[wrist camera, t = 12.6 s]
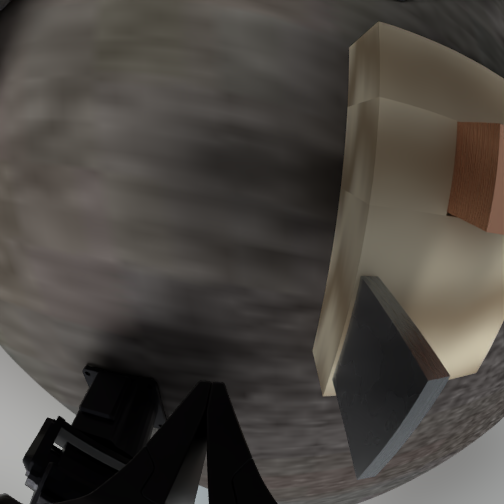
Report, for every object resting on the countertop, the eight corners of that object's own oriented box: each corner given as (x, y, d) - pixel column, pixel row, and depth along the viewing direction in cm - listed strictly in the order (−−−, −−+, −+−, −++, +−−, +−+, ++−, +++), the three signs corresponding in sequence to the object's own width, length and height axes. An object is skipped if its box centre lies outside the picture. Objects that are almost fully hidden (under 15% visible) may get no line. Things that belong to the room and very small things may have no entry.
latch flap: (375, 476, 8) (356, 479, 8) (346, 378, 13) (332, 379, 13) (450, 376, 6) (428, 380, 6) (378, 276, 11) (361, 275, 11)
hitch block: (452, 341, 18) (476, 372, 14) (312, 350, 18) (322, 396, 14) (504, 107, 11) (545, 109, 7) (349, 47, 11) (378, 21, 7)
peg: (456, 203, 14) (534, 240, 8) (405, 194, 14) (486, 232, 8) (464, 139, 12) (547, 152, 6) (412, 122, 12) (500, 123, 6)
